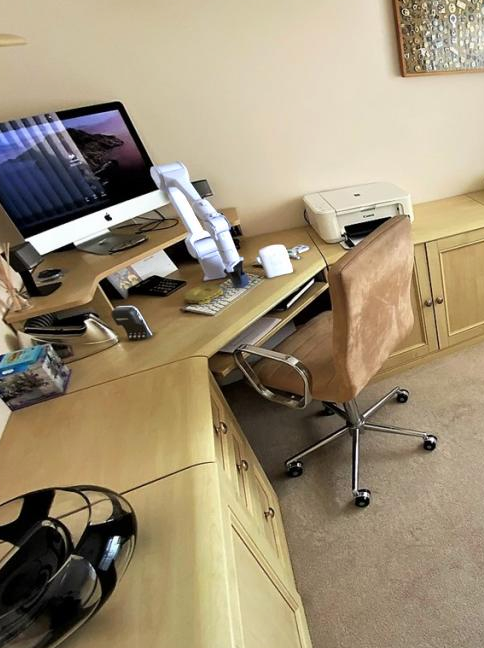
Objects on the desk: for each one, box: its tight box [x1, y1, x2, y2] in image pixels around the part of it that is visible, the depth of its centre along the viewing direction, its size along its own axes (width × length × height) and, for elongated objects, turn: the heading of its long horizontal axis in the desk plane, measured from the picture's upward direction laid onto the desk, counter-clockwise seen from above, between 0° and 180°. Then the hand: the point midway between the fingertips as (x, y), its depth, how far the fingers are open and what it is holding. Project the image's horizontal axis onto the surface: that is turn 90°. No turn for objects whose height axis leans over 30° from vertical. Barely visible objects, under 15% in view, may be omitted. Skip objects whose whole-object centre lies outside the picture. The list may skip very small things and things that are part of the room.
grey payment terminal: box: [110, 305, 154, 341], centre depth 135 cm, size 7×4×11 cm, turn 92°
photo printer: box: [258, 244, 294, 279], centre depth 171 cm, size 10×4×12 cm, turn 123°
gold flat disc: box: [183, 283, 224, 305], centre depth 160 cm, size 12×12×2 cm
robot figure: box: [255, 244, 310, 266], centre depth 189 cm, size 16×3×22 cm
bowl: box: [229, 271, 250, 289], centre depth 166 cm, size 6×6×4 cm
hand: (240, 281), depth 166 cm, fingers closed on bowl, 5 cm apart
